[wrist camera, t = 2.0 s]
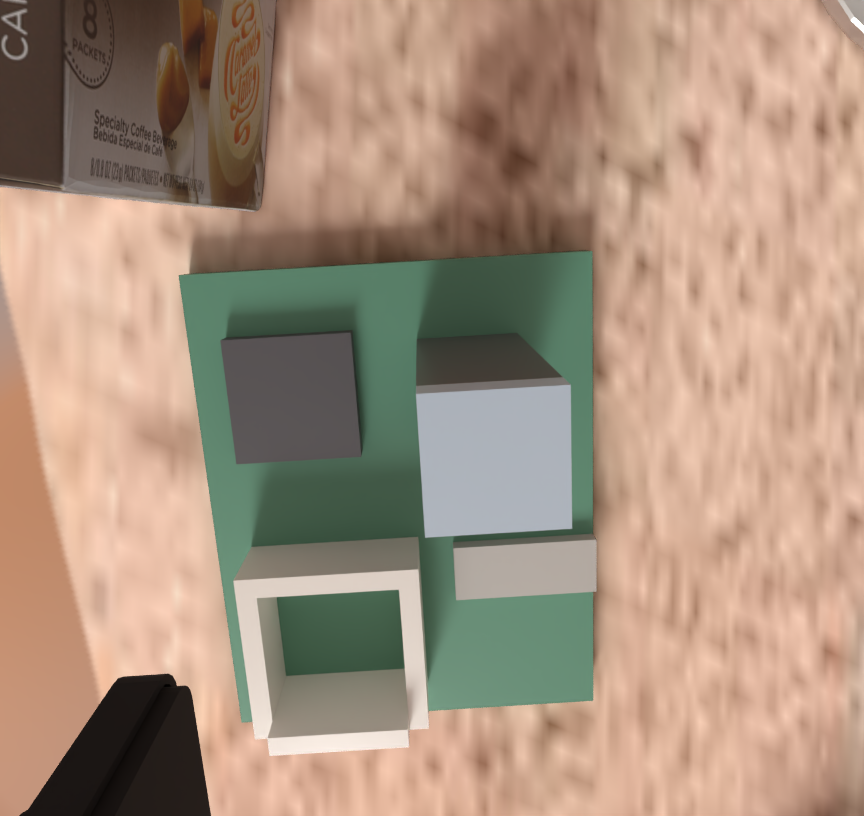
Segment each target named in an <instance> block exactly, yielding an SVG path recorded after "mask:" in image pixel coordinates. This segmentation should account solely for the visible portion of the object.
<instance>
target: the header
mask: <svg viewBox="0 0 864 816" xmlns="http://www.w3.org/2000/svg"><path fill="white" fill-rule="evenodd" d="M233 582H234V589H235V597H236V604H237V611H238V619H239V626H240V633H241V640H242V648H243V655H244V662H245V670H246V677H247V684H248V692H249V699H250V706H251V714H252V721H253V728H254V735H255V739H267V740H268V747H269V755H270V756H275V755H291V754H307V753H323V752H339V751H355V750H371V749H387V748H403V747H409V730H413V729H429V706H428V676H427V661H426V646H425V631H424V615H423V600H422V585H421V570H420V555H419V540H418V537H406V538H390V539H373V540H357V541H340V542H324V543H307V544H291V545H275V546H258V547H251V549H250V551H249V552H248V554H247V556H246V558H245V560H244V562H243V564H242V565H241V567H240V569H239V571H238V573H237V575H236V577H235V578H234V580H233ZM384 590H399V597H400V610H401V624H402V637H403V650H404V664H405V669H390V670H374V671H358V672H341V673H325V674H309V675H293V676H286V671H285V663H284V655H283V647H282V638H281V630H280V622H279V614H278V605H277V597H286V596H302V595H318V594H335V593H351V592H367V591H384Z"/></svg>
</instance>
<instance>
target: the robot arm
mask: <svg viewBox="0 0 864 816" xmlns="http://www.w3.org/2000/svg"><path fill="white" fill-rule="evenodd" d="M821 1H822V3H823V4H824V6H825V8H826V10H827V12H828V14H829V15H830V16H831V18H832V19H833V20H834V21H835V22H836V24H837V25H838V26H839V27H840V28H841V30H842V31H843V32H844V33H845V34H846V36H847V37H848V38H849V39H850V40H852V41H853V42H854V43H856V44H857V45H858V46H859V47H861V48H862V49H863V50H864V0H821ZM20 816H211V813H210V807H209V800H208V794H207V788H206V781H205V775H204V769H203V762H202V756H201V750H200V744H199V737H198V731H197V725H196V718H195V712H194V706H193V699H192V695H191V691H190V689H189V687H187V686H177V685H176V681H175V679H174V678H173V676H172V675H170V674H158V675H143V676H127V677H121V678H118V679H117V681H116V682H115V683H114V684H113V685H112V687H111V688H110V690H109V691H108V693H107V694H106V696H105V697H104V698H103V700H102V701H101V703H100V704H99V706H98V707H97V709H96V710H95V712H94V713H93V715H92V716H91V718H90V719H89V721H88V722H87V724H86V725H85V727H84V728H83V730H82V731H81V733H80V734H79V735H78V737H77V738H76V740H75V741H74V743H73V744H72V746H71V747H70V749H69V750H68V752H67V753H66V755H65V756H64V757H63V759H62V761H61V762H60V763H59V765H58V766H57V768H56V769H55V771H54V772H53V774H52V775H51V777H50V778H49V780H48V781H47V782H46V784H45V785H44V787H43V788H42V790H41V791H40V793H39V795H38V796H37V797H36V799H35V800H34V802H33V803H32V805H31V806H30V808H29V809H28V810H26V811H25V812H23V813H22V814H21V815H20Z"/></svg>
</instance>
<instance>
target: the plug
mask: <svg viewBox="0 0 864 816" xmlns="http://www.w3.org/2000/svg"><path fill="white" fill-rule="evenodd" d="M416 403H417V419H418V435H419V450H420V466H421V482H422V497H423V513H424V529H425V538H428V537H444V536H461V535H477V534H494V533H510V532H526V531H543V530H559V529H572V463H571V384H569V383H568V382H567V381H566V380H565V379H564V378H563V377H562V376H561V375H560V374H559V373H558V372H557V371H556V370H555V369H554V368H553V367H552V366H551V365H550V364H549V363H548V362H547V361H546V360H545V359H544V358H543V357H542V356H541V355H540V354H538V353H537V352H536V351H535V350H534V349H533V348H532V347H531V346H530V345H529V344H528V343H527V342H526V341H525V340H524V339H523V338H522V337H521V336H520V335H519V334H518V333H507V334H490V335H473V336H456V337H440V338H423V339H417V344H416Z"/></svg>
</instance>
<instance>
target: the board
mask: <svg viewBox="0 0 864 816" xmlns="http://www.w3.org/2000/svg"><path fill="white" fill-rule="evenodd" d="M179 281H180V288H181V295H182V302H183V309H184V317H185V324H186V331H187V338H188V345H189V352H190V359H191V366H192V373H193V380H194V387H195V395H196V402H197V409H198V416H199V423H200V430H201V437H202V444H203V451H204V458H205V465H206V472H207V480H208V487H209V494H210V501H211V508H212V515H213V522H214V529H215V536H216V543H217V550H218V558H219V565H220V572H221V579H222V586H223V593H224V600H225V607H226V614H227V621H228V628H229V635H230V643H231V650H232V657H233V664H234V671H235V678H236V685H237V692H238V699H239V706H240V713H241V720H242V722H253V721H252V714H251V706H250V699H249V692H248V684H247V677H246V670H245V662H244V655H243V648H242V640H241V633H240V626H239V619H238V611H237V604H236V597H235V589H234V582H233V580H234V578H235V577H236V575H237V573H238V571H239V569H240V567H241V565H242V564H243V562H244V560H245V558H246V556H247V554H248V552H249V551H250V549H251V547H258V546H275V545H291V544H307V543H324V542H340V541H357V540H373V539H390V538H406V537H418V540H419V555H420V570H421V585H422V600H423V615H424V631H425V646H426V661H427V676H428V706H429V711H435V710H451V709H467V708H483V707H499V706H515V705H531V704H547V703H563V702H579V701H593V592H596V538H595V536H594V535H593V303H592V251H569V252H552V253H535V254H518V255H501V256H484V257H467V258H450V259H432V260H415V261H398V262H381V263H364V264H347V265H330V266H313V267H296V268H279V269H262V270H245V271H228V272H211V273H193V274H184V275H179ZM507 333H518V334H519V335H520V336H521V337H522V338H523V339H524V340H525V341H526V342H527V343H528V344H529V345H530V346H531V347H532V348H533V349H534V350H535V351H536V352H537V353H538V354H540V355H541V356H542V357H543V358H544V359H545V360H546V361H547V362H548V363H549V364H550V365H551V366H552V367H553V368H554V369H555V370H556V371H557V372H558V373H559V374H560V375H561V376H562V377H563V378H564V379H565V380H566V381H567V382H568V383H569V384H571V463H572V529H559V530H543V531H526V532H510V533H494V534H477V535H461V536H444V537H428V538H425V529H424V513H423V497H422V482H421V466H420V450H419V435H418V419H417V403H416V344H417V339H423V338H440V337H456V336H473V335H490V334H507ZM277 605H278V614H279V622H280V630H281V638H282V647H283V655H284V663H285V671H286V676H293V675H309V674H325V673H341V672H358V671H374V670H390V669H405V664H404V650H403V637H402V624H401V610H400V597H399V590H384V591H367V592H351V593H335V594H318V595H302V596H286V597H277Z"/></svg>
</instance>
